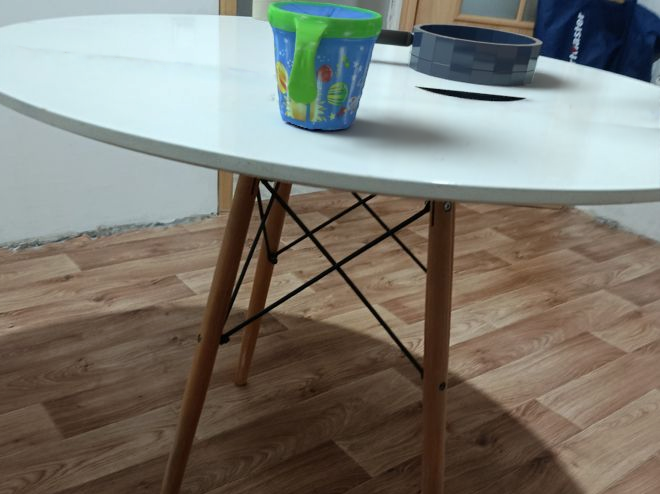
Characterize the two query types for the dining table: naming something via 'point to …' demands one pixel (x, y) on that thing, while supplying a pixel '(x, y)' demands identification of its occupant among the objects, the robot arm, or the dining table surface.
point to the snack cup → (321, 60)
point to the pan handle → (395, 38)
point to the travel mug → (263, 8)
